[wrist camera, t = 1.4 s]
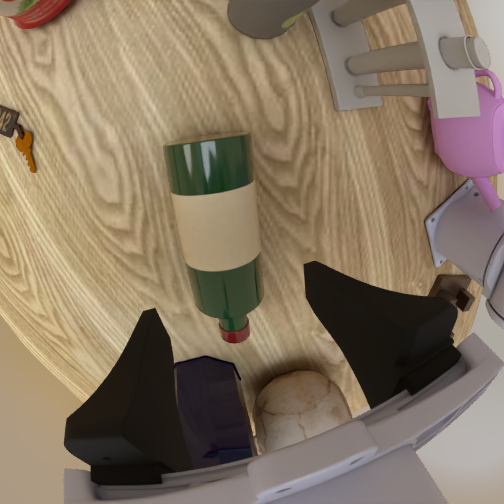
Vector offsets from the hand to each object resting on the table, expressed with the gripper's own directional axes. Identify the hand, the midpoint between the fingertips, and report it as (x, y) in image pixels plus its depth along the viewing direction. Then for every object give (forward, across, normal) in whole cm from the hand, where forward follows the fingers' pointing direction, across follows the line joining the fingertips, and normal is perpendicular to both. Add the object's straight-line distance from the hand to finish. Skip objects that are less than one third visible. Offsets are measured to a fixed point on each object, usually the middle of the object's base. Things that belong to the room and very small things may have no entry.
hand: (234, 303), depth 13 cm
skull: (+10, -4, +28) cm, 30 cm away
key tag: (+12, +14, -12) cm, 22 cm away
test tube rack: (+10, -13, -20) cm, 25 cm away
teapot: (+9, -26, -5) cm, 28 cm away
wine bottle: (+10, -1, +1) cm, 10 cm away
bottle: (+11, +6, +19) cm, 22 cm away
